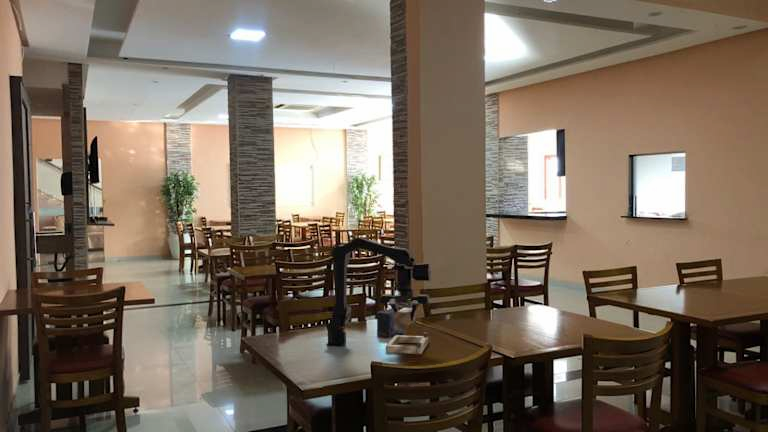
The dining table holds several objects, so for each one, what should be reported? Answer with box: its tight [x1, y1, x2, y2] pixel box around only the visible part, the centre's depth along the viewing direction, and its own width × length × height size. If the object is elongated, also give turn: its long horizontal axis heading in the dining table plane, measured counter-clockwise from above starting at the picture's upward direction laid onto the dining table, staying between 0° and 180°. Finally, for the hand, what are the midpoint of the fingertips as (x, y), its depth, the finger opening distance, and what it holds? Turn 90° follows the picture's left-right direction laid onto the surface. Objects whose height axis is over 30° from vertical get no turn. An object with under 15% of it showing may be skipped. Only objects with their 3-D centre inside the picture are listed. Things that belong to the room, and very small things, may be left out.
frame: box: [394, 307, 416, 328], centre depth 242 cm, size 5×12×5 cm, turn 162°
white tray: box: [385, 331, 429, 355], centre depth 242 cm, size 14×19×4 cm
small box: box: [376, 308, 403, 339], centre depth 263 cm, size 11×6×10 cm, turn 143°
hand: (405, 320), depth 242 cm, fingers closed on frame, 5 cm apart
